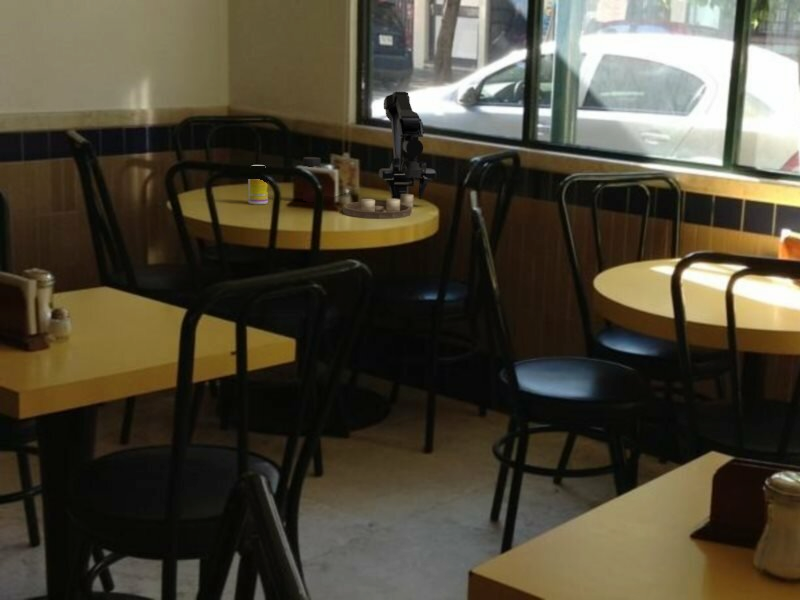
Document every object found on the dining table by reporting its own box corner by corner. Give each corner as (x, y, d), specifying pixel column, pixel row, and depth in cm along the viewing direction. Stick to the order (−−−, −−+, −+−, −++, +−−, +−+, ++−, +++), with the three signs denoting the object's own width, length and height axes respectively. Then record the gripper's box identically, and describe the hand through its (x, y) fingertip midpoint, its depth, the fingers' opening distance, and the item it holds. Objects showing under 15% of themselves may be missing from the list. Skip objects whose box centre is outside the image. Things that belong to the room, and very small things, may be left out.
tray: (337, 210, 429) (337, 201, 429) (400, 209, 435) (401, 201, 434) (352, 221, 409) (352, 212, 408) (418, 220, 414) (419, 212, 414)
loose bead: (398, 208, 437) (399, 193, 436) (411, 208, 438) (411, 193, 437) (401, 210, 433) (402, 195, 432) (414, 210, 434) (415, 195, 433)
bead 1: (359, 214, 418) (360, 198, 417) (372, 214, 419) (373, 198, 418) (362, 216, 414) (363, 201, 413) (376, 216, 415) (376, 200, 414)
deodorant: (300, 200, 447) (301, 157, 444) (316, 199, 450) (317, 157, 446) (305, 203, 442) (306, 159, 439) (321, 202, 444) (322, 159, 441)
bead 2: (384, 213, 420) (385, 198, 419) (397, 213, 421) (398, 198, 420) (388, 216, 416) (388, 200, 415) (401, 215, 417) (401, 200, 416)
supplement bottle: (270, 204, 436) (270, 166, 433) (251, 205, 434) (251, 167, 431) (264, 201, 442) (265, 164, 439) (245, 202, 440) (246, 164, 437)
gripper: (387, 156, 421) (386, 203, 425) (442, 156, 426) (440, 202, 430) (379, 151, 432) (377, 197, 435) (432, 151, 437) (430, 197, 440)
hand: (406, 199), depth 435 cm, fingers open, 9 cm apart
